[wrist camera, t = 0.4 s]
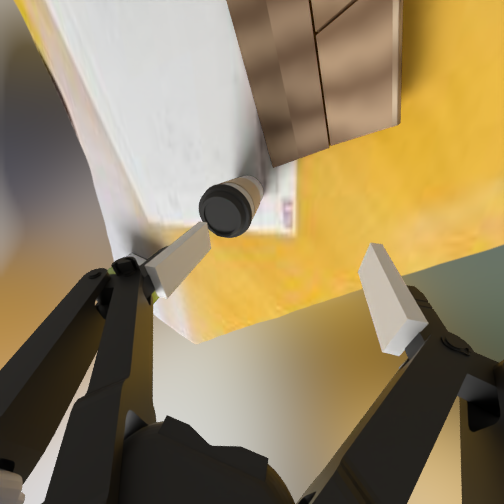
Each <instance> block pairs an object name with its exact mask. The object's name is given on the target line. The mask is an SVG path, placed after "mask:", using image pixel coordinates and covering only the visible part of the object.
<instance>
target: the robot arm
mask: <svg viewBox="0 0 504 504" xmlns="http://www.w3.org/2000/svg"><path fill="white" fill-rule="evenodd" d="M210 249H211V244H210V237H209V231H208V225H207V222H198V223H197V224H196V225H195V226H193V227H192V228H191V229H190V230H188V231H187V232H186V233H185V234H183V235H182V236H181V237H180V238H178V239H177V240H176V241H175V242H173V243H172V244H171V245H170V246H167V247H164V248H162V249H160V250H159V251H158V252H157V253H156V254H154V255H153V256H152V257H150V258H149V259H148V260H146V261H145V262H144V263H142V264H141V265H140V266H139V265H138V263H137V261H136V259H135V258H134V257H130V256H129V257H123V258H120V259H118V260H116V261H115V262H113V263H112V268H113V270H114V271H115V273H116V274H109V273H108V271H107V270H106V269H104V268H99V269H94V270H92V271H90V272H88V273H86V274H85V275H84V276H83V277H82V278H81V279H80V280H79V282H78V283H77V284H76V285H75V286H74V287H73V288H72V290H71V291H70V292H69V293H68V294H67V295H66V296H65V298H64V299H63V300H62V301H61V302H60V303H59V304H58V306H57V307H56V308H55V309H54V310H53V311H52V312H51V313H50V315H49V316H48V317H47V318H46V319H45V320H44V321H43V322H42V324H41V325H40V326H39V327H38V328H37V329H36V331H35V332H34V333H33V334H32V335H31V336H30V337H29V338H28V340H27V341H26V342H25V343H24V344H23V345H22V346H21V347H20V349H19V350H18V351H17V352H16V353H15V354H14V355H13V357H12V358H11V359H10V360H9V361H8V362H7V363H6V365H5V366H4V367H3V368H2V369H1V370H0V504H23V503H24V500H25V495H24V494H23V493H22V492H21V490H22V485H23V484H24V482H25V481H26V479H27V478H28V477H29V475H30V474H31V472H32V471H33V469H34V467H35V466H36V464H37V463H38V461H39V460H40V457H41V456H42V455H43V453H44V452H45V450H46V448H47V446H48V445H49V443H50V441H51V439H52V437H53V436H54V434H55V432H56V430H57V428H58V426H59V424H60V422H61V420H62V418H63V416H64V415H65V413H66V411H67V409H68V407H69V405H70V403H71V401H72V399H73V397H74V395H75V393H76V391H77V389H78V387H79V386H80V384H81V382H82V380H83V378H84V376H85V374H86V372H87V370H88V368H89V366H90V364H91V362H92V360H93V359H94V357H95V355H96V353H97V356H96V360H95V364H94V368H93V371H92V376H91V379H90V383H89V387H88V391H87V393H86V394H85V396H83V397H81V398H79V399H78V400H77V401H76V402H75V404H74V406H73V408H72V411H71V413H70V417H69V420H68V423H67V427H66V430H65V433H64V437H63V440H62V444H61V447H60V450H59V454H58V457H57V460H56V464H55V467H54V471H53V474H52V477H51V481H50V484H49V487H48V491H47V494H46V498H45V501H44V502H43V503H42V504H295V503H294V500H293V498H292V496H291V494H290V492H289V490H288V488H287V487H286V485H285V483H284V482H283V480H282V479H281V477H280V476H279V475H278V474H277V472H276V471H275V470H274V469H273V468H272V467H271V466H270V465H269V464H268V458H267V457H264V456H262V455H259V454H257V453H255V452H252V451H250V450H248V449H245V448H243V447H236V446H212V445H209V444H208V443H207V442H206V441H205V440H204V439H203V438H202V437H201V436H200V435H199V434H198V433H197V432H196V431H195V430H194V429H193V428H192V427H191V426H190V425H188V424H186V423H184V422H181V421H179V420H177V419H174V418H172V417H170V416H166V418H165V420H164V421H162V422H156V415H155V410H154V407H153V399H152V397H153V392H152V391H153V389H152V388H153V382H152V381H153V296H152V293H153V292H154V291H156V293H157V295H158V297H162V298H166V299H168V297H169V296H170V295H171V294H172V293H173V292H174V291H175V289H176V288H177V287H178V286H179V285H180V284H181V283H182V281H183V280H184V279H185V278H186V277H187V276H188V274H189V273H190V272H191V271H192V270H193V269H194V268H195V266H196V265H197V264H198V263H199V262H200V261H201V260H202V258H203V257H204V256H205V255H206V254H207V253H208V251H209V250H210ZM358 273H359V277H360V280H361V283H362V287H363V290H364V293H365V297H366V300H367V303H368V306H369V310H370V313H371V316H372V320H373V323H374V326H375V330H376V333H377V336H378V339H379V343H380V346H381V349H382V352H385V353H389V354H393V355H397V356H400V354H402V352H403V351H404V350H405V351H406V354H407V356H408V359H407V360H406V361H405V362H404V363H403V364H402V365H401V366H400V367H399V370H398V371H397V373H396V374H395V375H394V377H393V378H392V379H391V381H390V382H389V383H388V385H387V386H386V387H385V389H384V390H383V391H382V393H381V394H380V395H379V397H378V398H377V399H376V401H375V402H374V403H373V405H372V406H371V407H370V408H369V410H368V411H367V413H366V414H365V416H364V417H363V418H362V419H361V420H360V422H359V423H358V424H357V426H356V427H355V428H354V430H353V431H352V432H351V434H350V435H349V436H348V438H347V439H346V440H345V442H344V443H343V444H342V446H341V447H340V448H339V450H338V451H337V452H336V454H335V455H334V456H333V458H332V459H331V460H330V462H329V463H328V465H327V466H326V467H325V469H324V470H323V471H322V472H321V473H320V475H319V476H318V477H317V478H316V479H315V480H314V481H313V483H312V484H311V485H310V486H309V488H308V489H307V490H306V491H305V493H304V494H303V495H302V497H301V498H300V499H299V501H298V502H297V503H296V504H407V502H408V500H409V498H410V496H411V494H412V492H413V489H414V487H415V485H416V483H417V481H418V479H419V477H420V474H421V472H422V470H423V468H424V466H425V464H426V461H427V459H428V457H429V455H430V453H431V450H432V448H433V446H434V444H435V442H436V440H437V438H438V435H439V433H440V431H441V429H442V427H443V425H444V422H445V420H446V418H447V416H448V414H449V412H450V409H451V407H452V405H453V403H454V401H455V399H456V397H457V396H459V398H460V439H461V478H462V480H461V481H462V504H504V360H503V361H501V362H500V363H498V362H496V361H494V360H491V359H489V358H487V357H484V356H482V355H480V354H477V353H475V352H474V351H473V350H472V348H471V347H470V346H469V345H468V344H467V343H466V342H465V341H464V340H462V339H461V338H460V337H458V336H456V335H454V334H452V333H450V332H448V331H447V329H446V328H445V326H444V325H443V323H442V322H441V320H440V319H439V317H438V315H437V314H436V312H435V311H434V309H432V306H431V305H430V303H428V300H427V299H426V297H425V296H424V294H423V293H422V292H420V291H419V290H418V289H417V288H416V287H414V286H407V285H406V284H405V282H404V281H403V279H402V277H401V276H400V274H399V272H398V270H397V269H396V267H395V265H394V264H393V262H392V260H391V258H390V257H389V255H388V253H387V252H386V250H385V248H384V247H383V245H382V244H376V243H370V245H369V247H368V249H367V252H366V254H365V256H364V259H363V261H362V264H361V266H360V268H359V271H358ZM96 300H97V301H98V303H97V304H96V305H95V301H96ZM97 351H98V352H97Z"/></svg>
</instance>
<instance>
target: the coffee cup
mask: <svg viewBox="0 0 504 504" xmlns="http://www.w3.org/2000/svg"><path fill="white" fill-rule="evenodd" d="M262 197H263V188H262V185H261V183H260V182H259V181H258V180H257V179H256V178H254V177H252V176H242V177H240V178H235V179H232V180H229V181H226V182H223V183H220V184H218V185H214V186H212V187H210V188H209V189H207V190H206V192H205V193H204V195H203V196H202V197H201V199H200V202H199V214H200V217H201V219H202V221H203V222H207V225H208V229H209V230H210V231H212V232H213V233H215V234H216V235H217V236H220V237H226V238H233V237H237V236H239V235H241V234H243V233H244V232H245V231H246V230H247V229H248V228H249V226H250V224H251V221H252V219H253V217H254V215H255V213H256V211H257V209H258V207H259V205H260V201H261V199H262Z"/></svg>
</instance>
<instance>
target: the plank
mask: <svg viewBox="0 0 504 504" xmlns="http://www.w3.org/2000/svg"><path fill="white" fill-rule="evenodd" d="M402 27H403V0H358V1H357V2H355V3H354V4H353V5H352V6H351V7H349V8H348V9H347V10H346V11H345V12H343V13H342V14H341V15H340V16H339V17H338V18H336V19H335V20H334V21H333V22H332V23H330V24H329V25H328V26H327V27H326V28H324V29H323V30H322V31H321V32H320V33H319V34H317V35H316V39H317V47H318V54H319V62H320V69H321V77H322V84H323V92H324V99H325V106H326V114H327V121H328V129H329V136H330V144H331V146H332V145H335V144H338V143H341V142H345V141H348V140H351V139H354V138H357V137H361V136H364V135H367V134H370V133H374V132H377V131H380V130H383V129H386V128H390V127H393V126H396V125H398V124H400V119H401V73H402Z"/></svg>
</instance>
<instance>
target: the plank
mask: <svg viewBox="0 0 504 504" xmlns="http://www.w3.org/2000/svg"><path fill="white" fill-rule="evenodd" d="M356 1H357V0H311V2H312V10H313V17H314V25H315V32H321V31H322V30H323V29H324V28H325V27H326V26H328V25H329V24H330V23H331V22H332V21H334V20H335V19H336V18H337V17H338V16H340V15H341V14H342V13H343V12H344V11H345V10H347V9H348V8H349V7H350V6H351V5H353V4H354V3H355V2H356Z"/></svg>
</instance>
